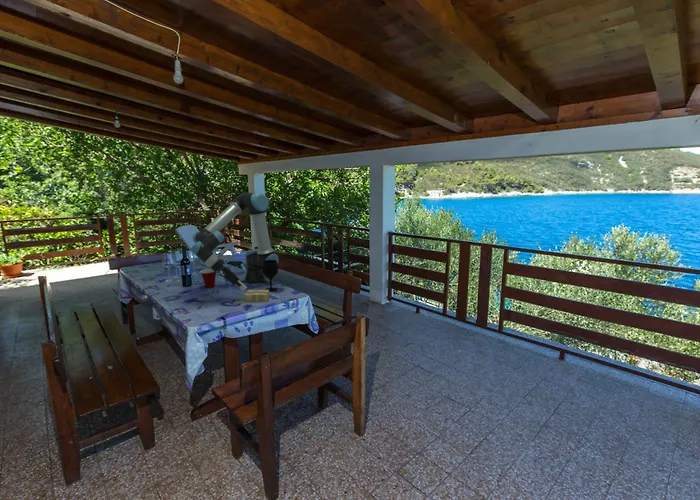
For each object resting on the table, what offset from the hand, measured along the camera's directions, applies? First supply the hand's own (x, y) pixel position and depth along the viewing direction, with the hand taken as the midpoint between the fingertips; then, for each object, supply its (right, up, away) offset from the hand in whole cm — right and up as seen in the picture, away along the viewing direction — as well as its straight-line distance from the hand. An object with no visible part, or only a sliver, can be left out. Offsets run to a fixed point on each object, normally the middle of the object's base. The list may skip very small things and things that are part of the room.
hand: (245, 289), depth 210 cm
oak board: (0, -4, +1) cm, 4 cm away
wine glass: (+11, -3, +20) cm, 24 cm away
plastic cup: (-33, -2, +28) cm, 43 cm away
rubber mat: (+4, -7, +2) cm, 8 cm away
